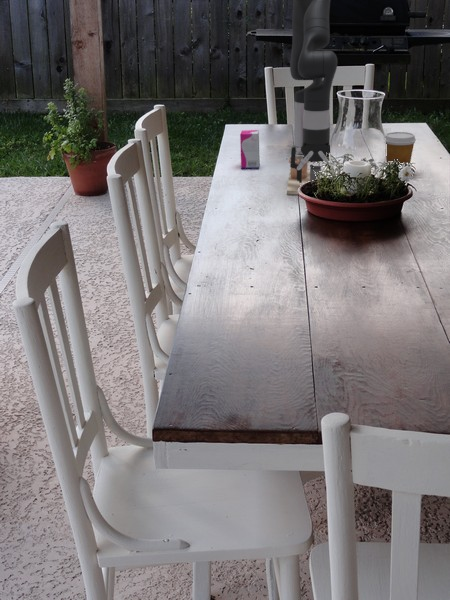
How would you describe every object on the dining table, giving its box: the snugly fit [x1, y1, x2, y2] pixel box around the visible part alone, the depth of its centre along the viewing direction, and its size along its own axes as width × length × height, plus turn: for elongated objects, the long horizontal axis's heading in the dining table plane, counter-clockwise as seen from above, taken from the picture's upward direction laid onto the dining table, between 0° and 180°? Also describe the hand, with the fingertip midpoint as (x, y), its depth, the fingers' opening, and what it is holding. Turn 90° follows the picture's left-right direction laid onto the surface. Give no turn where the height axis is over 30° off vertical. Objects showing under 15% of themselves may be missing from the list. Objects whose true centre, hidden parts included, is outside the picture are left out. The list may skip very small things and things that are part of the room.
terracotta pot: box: [288, 155, 310, 179], centre depth 239 cm, size 6×6×6 cm
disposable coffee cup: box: [384, 131, 417, 164], centre depth 242 cm, size 10×10×12 cm
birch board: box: [286, 165, 323, 195], centre depth 236 cm, size 24×10×7 cm, turn 174°
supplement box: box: [239, 129, 261, 170], centre depth 254 cm, size 6×6×12 cm
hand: (315, 182), depth 228 cm, fingers open, 8 cm apart
